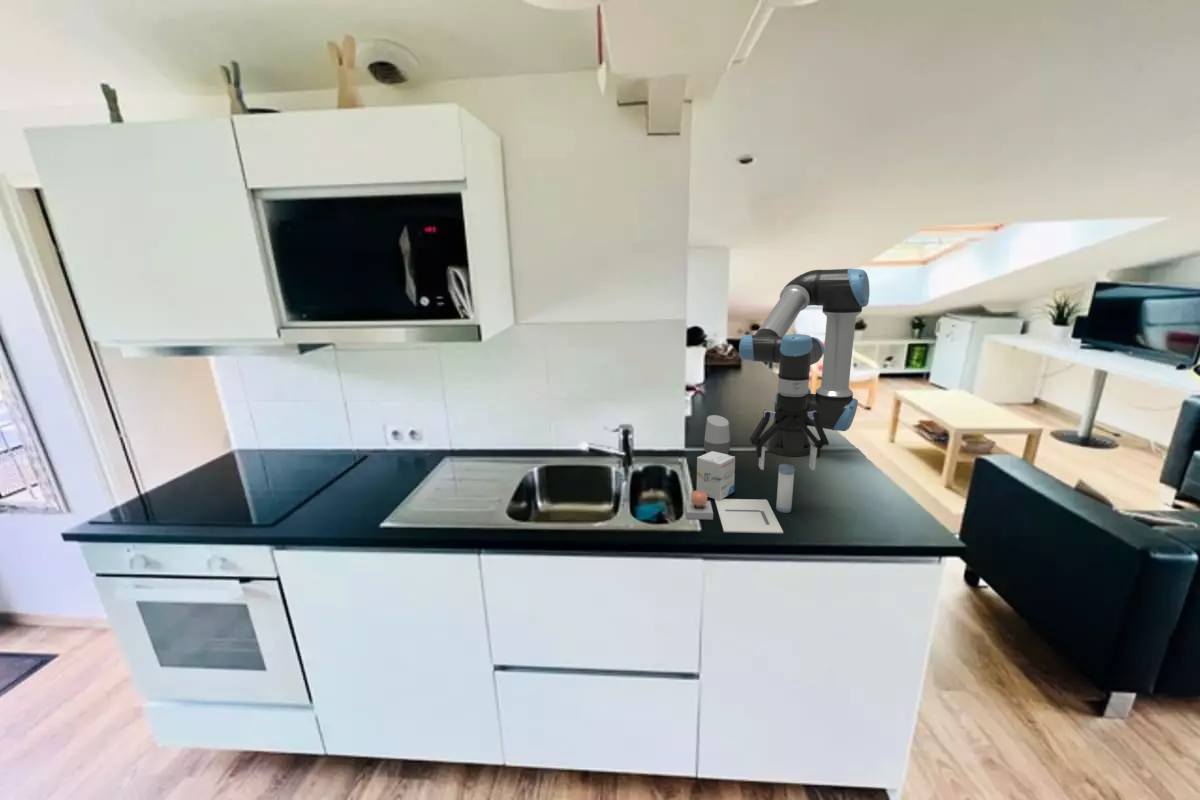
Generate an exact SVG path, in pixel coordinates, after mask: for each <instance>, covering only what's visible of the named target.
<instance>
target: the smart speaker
mask: <svg viewBox="0 0 1200 800" xmlns="http://www.w3.org/2000/svg"><path fill="white" fill-rule="evenodd" d="M705 424H706V425H705V432H704V433H705V434H704V439H703V440H704V442H703V448H704V452H705V454H707V453H709V452H711V451H714V452H718V453H723V454H727V455H729V452H730V449H731V433H730V422H729V420H728V419H727V418H726V417H723V416H722V415H716V414H711V415H708V416H707V417H706V423H705Z"/></svg>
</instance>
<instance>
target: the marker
mask: <svg viewBox="0 0 1200 800" xmlns="http://www.w3.org/2000/svg"><path fill="white" fill-rule="evenodd" d="M795 471H796V468H795V466H794V465H792V464H789V463H782V464H779V465H778V476H777V477H778V478H777V490H776V491H777V492H776V506H775V507H776V508H775V510H776V511H777V512H780V513H783V514H784V513H785V514H787V513H791V512H792V503H793V495H794V494H793V492H794V491H793V490H794V480H795Z"/></svg>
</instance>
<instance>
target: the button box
mask: <svg viewBox="0 0 1200 800" xmlns="http://www.w3.org/2000/svg"><path fill="white" fill-rule="evenodd" d="M684 507H685V514H686V519H687V520H714V511H713V507H712V502H711V500H707V504H705V505H702V509H696V505H694V504H693V503H691V500H685V504H684Z"/></svg>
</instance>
